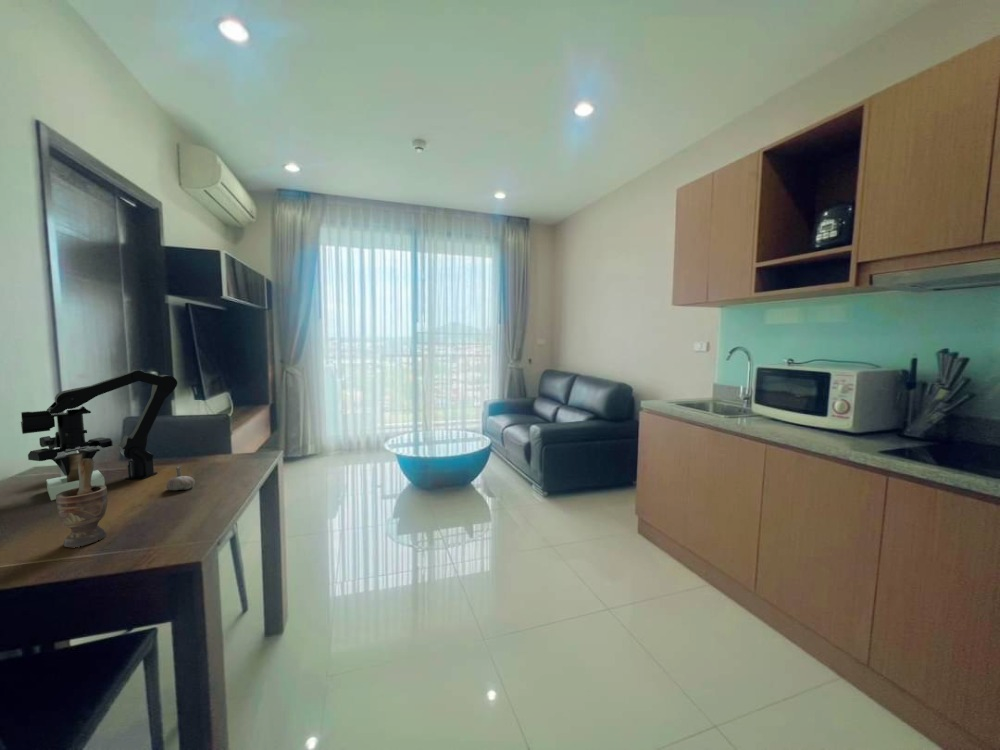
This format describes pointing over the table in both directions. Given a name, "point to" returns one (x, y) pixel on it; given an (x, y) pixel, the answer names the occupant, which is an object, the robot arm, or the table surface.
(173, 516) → the table surface
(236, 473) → the table surface
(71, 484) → the socket block
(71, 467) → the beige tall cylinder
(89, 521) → the mortar and pestle
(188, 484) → the garlic bulb
